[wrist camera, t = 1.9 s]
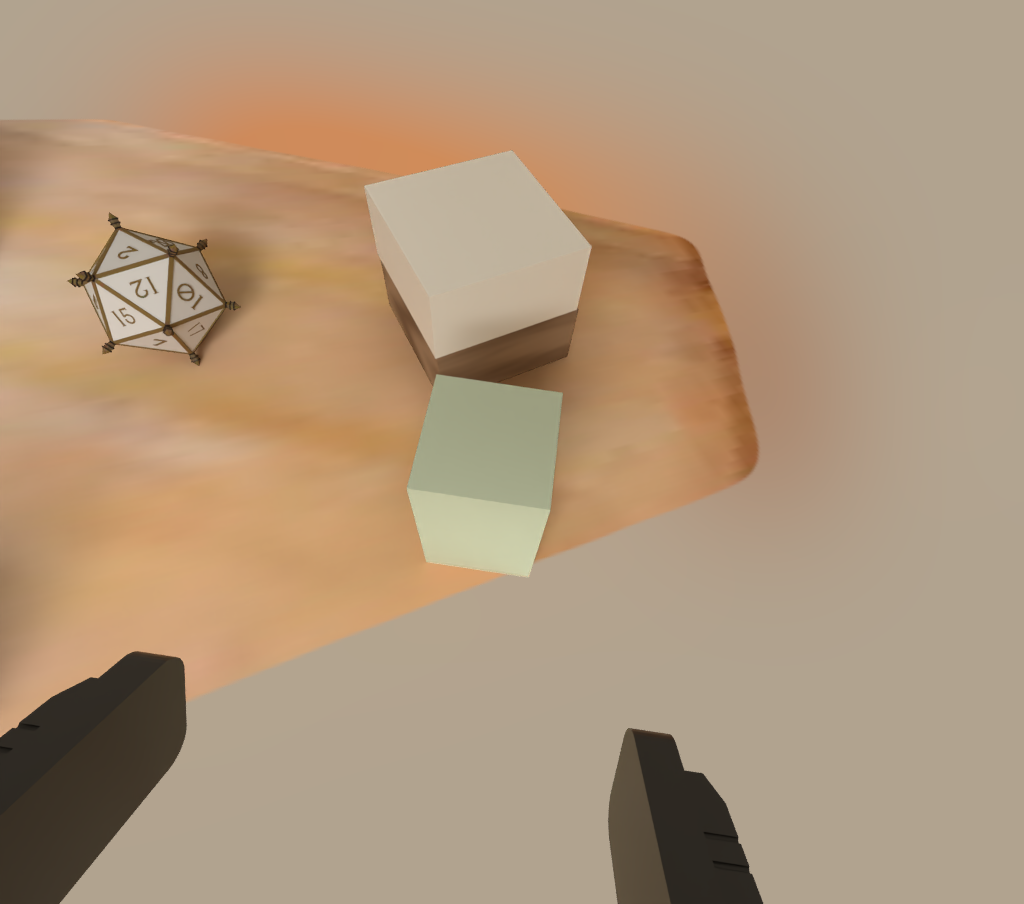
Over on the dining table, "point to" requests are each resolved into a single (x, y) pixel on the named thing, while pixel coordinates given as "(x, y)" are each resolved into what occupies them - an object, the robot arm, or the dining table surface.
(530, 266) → the tower top
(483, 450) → the sage block
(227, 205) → the dining table surface
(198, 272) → the game die
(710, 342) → the dining table surface
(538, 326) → the tower bottom
